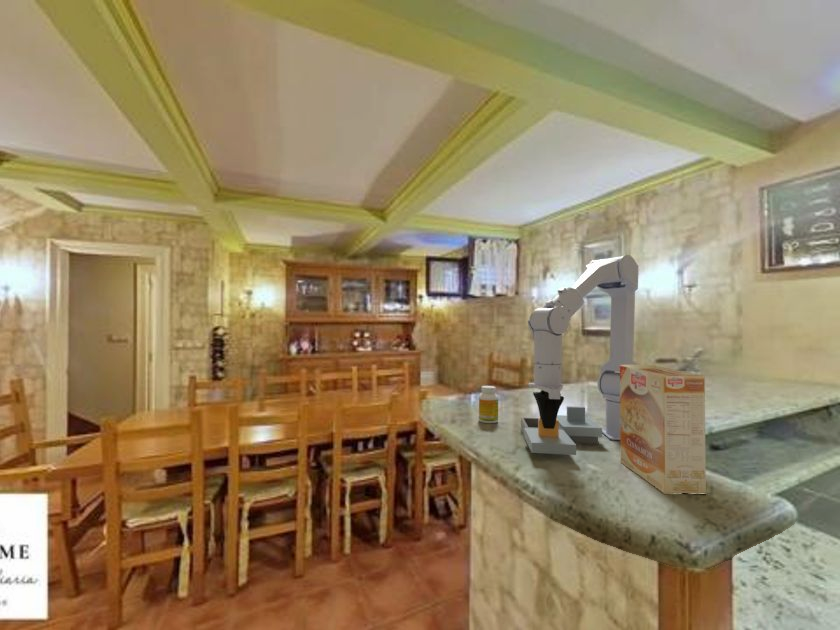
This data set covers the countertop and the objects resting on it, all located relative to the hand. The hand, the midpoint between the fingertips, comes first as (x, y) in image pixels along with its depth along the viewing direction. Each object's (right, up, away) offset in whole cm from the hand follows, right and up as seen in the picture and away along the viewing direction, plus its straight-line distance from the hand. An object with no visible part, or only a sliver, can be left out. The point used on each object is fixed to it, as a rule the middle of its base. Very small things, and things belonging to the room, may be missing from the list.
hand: (547, 427), depth 83 cm
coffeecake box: (+16, -6, -13) cm, 21 cm away
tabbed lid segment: (0, -4, 0) cm, 4 cm away
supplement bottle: (-8, -6, +27) cm, 29 cm away
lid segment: (+11, -4, +11) cm, 16 cm away
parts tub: (+6, -6, +12) cm, 14 cm away
